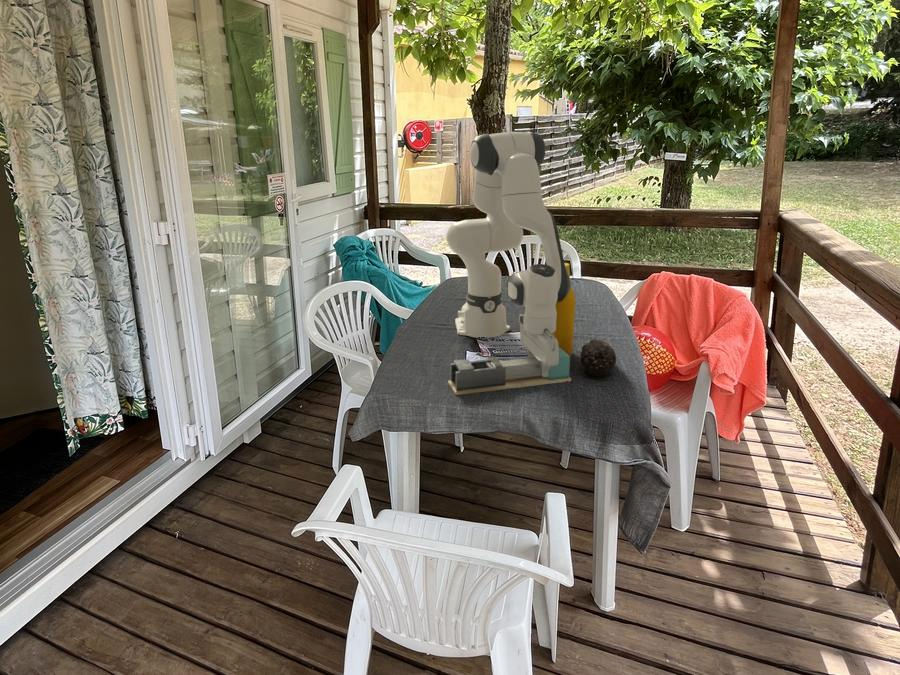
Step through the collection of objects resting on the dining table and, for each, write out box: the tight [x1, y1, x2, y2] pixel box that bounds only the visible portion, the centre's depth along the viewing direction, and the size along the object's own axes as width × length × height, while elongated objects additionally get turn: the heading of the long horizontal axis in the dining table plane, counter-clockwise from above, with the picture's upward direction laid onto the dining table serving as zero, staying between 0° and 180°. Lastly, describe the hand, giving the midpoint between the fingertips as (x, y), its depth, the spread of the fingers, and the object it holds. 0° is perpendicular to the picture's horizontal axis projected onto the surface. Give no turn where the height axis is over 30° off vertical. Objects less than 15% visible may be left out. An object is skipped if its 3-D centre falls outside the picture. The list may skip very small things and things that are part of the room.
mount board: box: [447, 375, 572, 396], centre depth 179 cm, size 8×34×1 cm, turn 104°
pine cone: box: [579, 339, 617, 381], centre depth 185 cm, size 10×18×10 cm, turn 176°
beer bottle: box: [552, 262, 576, 357], centre depth 193 cm, size 9×9×29 cm
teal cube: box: [546, 348, 571, 380], centre depth 181 cm, size 7×6×7 cm
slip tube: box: [486, 357, 543, 380], centre depth 178 cm, size 4×20×4 cm, turn 104°
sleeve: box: [449, 355, 506, 391], centre depth 176 cm, size 7×14×6 cm, turn 104°
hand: (538, 369), depth 180 cm, fingers open, 8 cm apart
